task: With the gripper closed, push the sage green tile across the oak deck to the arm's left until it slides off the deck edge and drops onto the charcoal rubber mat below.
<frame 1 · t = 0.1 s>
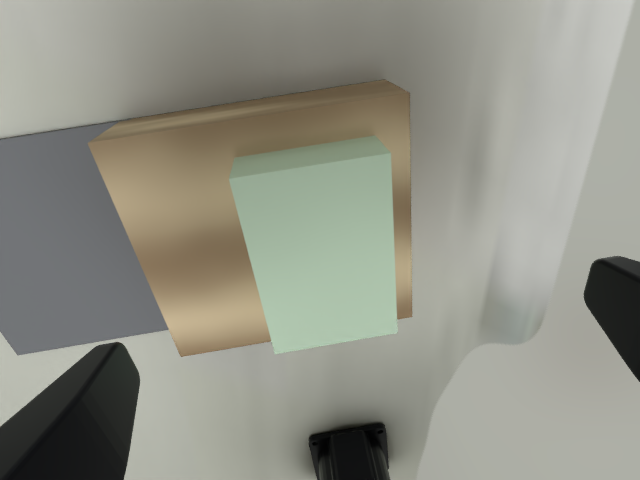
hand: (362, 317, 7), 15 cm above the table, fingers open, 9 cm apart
sage green tile: (319, 238, 19), point 4 cm above the table, touching deck
deck: (276, 209, 22), on the table
mat: (68, 251, 22), on the table
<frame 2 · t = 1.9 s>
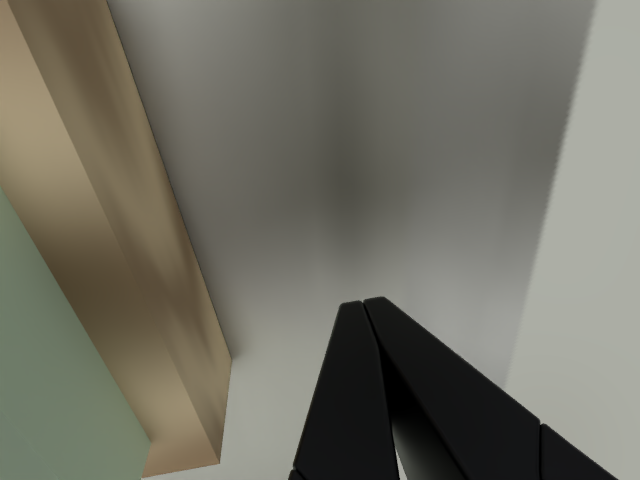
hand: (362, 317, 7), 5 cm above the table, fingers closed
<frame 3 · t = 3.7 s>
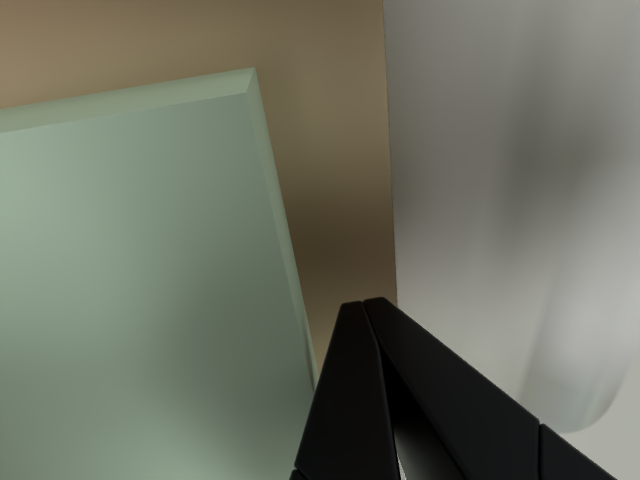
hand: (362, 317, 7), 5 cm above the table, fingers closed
sage green tile: (161, 320, 8), point 4 cm above the table, touching deck, gripper
deck: (145, 239, 12), on the table
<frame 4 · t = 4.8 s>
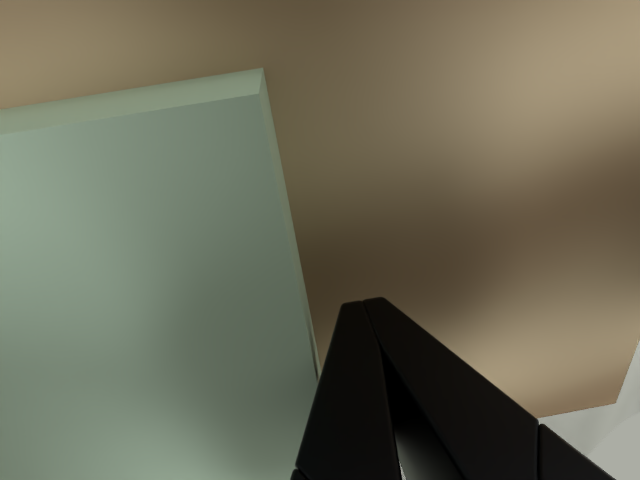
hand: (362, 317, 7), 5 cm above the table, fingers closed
sage green tile: (166, 318, 8), point 4 cm above the table, touching gripper
deck: (356, 203, 12), on the table
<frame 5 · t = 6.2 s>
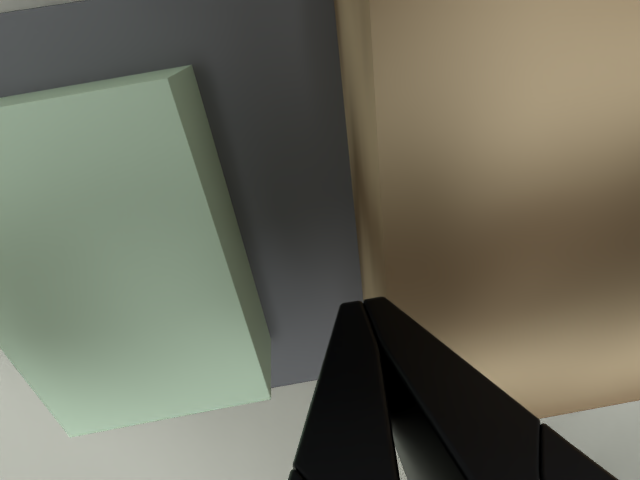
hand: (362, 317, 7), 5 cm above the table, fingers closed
sage green tile: (107, 300, 9), point 3 cm above the table, tilted 180°, touching mat
deck: (559, 169, 12), on the table
mat: (177, 248, 12), on the table
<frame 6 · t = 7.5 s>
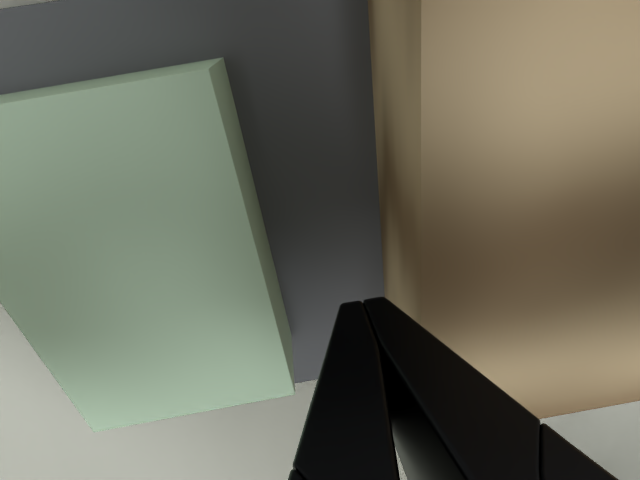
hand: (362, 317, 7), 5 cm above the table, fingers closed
sage green tile: (137, 293, 9), point 3 cm above the table, tilted 180°, touching mat
deck: (584, 164, 12), on the table
mat: (201, 243, 12), on the table
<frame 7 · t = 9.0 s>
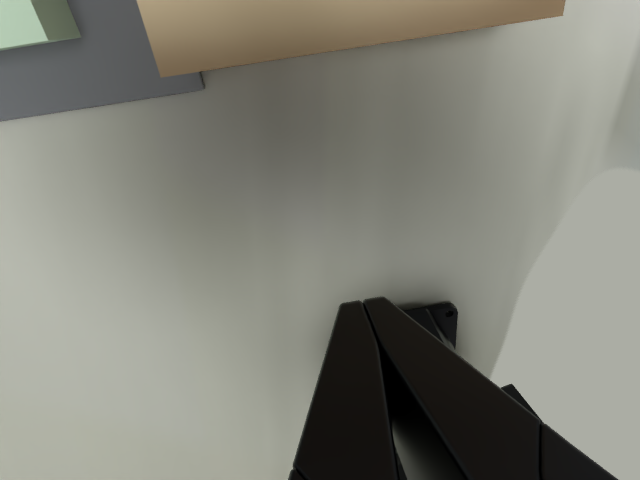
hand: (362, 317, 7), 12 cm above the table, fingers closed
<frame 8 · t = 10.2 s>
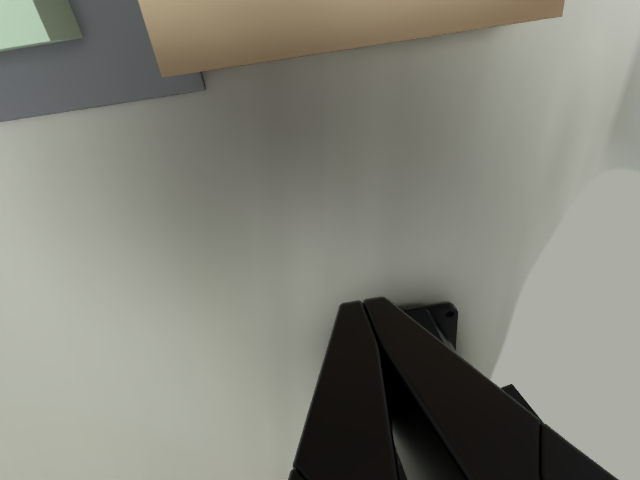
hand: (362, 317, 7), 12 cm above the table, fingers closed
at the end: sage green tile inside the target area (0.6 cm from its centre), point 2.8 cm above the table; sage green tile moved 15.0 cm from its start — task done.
